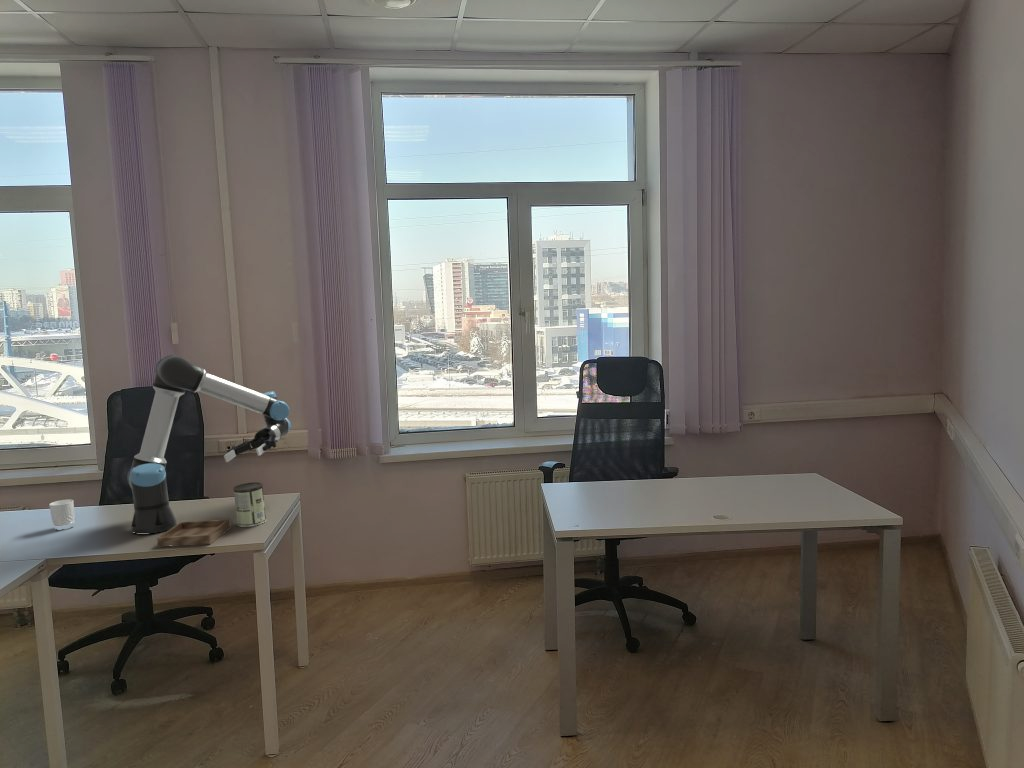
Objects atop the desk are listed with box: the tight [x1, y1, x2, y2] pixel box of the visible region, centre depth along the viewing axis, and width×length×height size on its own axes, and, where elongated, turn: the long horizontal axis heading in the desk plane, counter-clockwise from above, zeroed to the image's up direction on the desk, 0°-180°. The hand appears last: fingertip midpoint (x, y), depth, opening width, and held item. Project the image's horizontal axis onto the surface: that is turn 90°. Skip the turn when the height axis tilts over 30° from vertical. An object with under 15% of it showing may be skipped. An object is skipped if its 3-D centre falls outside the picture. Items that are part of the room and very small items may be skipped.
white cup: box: [48, 499, 76, 526], centre depth 287 cm, size 8×8×10 cm
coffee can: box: [232, 481, 267, 528], centre depth 279 cm, size 10×10×14 cm
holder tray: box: [156, 519, 231, 547], centre depth 267 cm, size 18×18×3 cm
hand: (241, 455), depth 284 cm, fingers open, 13 cm apart
